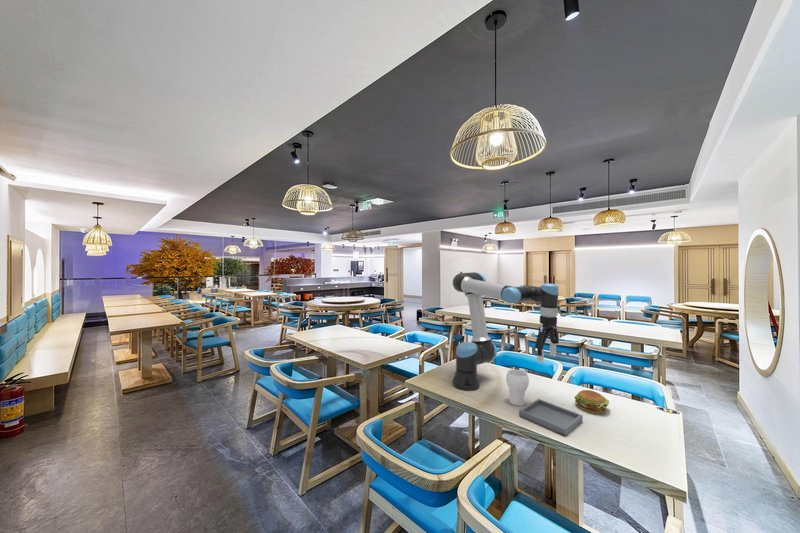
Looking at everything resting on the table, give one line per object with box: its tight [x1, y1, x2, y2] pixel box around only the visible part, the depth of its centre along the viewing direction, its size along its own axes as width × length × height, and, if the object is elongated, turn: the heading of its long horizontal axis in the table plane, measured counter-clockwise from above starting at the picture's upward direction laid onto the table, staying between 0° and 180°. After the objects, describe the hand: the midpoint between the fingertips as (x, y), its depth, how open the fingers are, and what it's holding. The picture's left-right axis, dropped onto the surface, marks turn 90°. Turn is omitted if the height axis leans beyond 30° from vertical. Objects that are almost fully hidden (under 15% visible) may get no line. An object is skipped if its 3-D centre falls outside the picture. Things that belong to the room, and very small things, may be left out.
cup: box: [505, 369, 530, 407], centre depth 152 cm, size 11×11×15 cm
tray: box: [518, 398, 584, 437], centre depth 136 cm, size 20×18×3 cm
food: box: [573, 389, 610, 414], centre depth 146 cm, size 14×14×8 cm
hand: (546, 359), depth 146 cm, fingers open, 13 cm apart
